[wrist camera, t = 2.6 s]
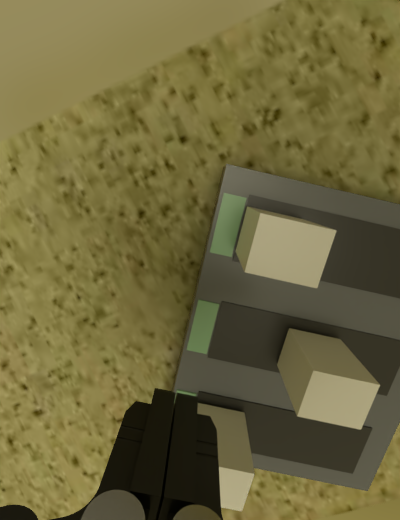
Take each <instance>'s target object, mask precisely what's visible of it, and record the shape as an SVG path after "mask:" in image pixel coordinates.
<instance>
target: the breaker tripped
mask: <svg viewBox="0 0 400 520" xmlns="http://www.w3.org/2000/svg"><path fill="white" fill-rule="evenodd" d="M277 366H278V369H279V371H280V374H281V376H282V379H283V382H284V384H285V387H286V389H287V392H288V394H289V397H290V400H291V402H292V405H293V407H294V410H295V412H296V415H297V416H298V417H302V418H307V419H312V420H317V421H321V422H326V423H331V424H336V425H340V426H345V427H350V428H355V429H359V430H361V429H362V426H363V424H364V422H365V419H366V417H367V415H368V412H369V410H370V408H371V405H372V403H373V401H374V398H375V396H376V394H377V391H378V389H379V387H380V384H379V383H378V382H377V381H376V380H375V378H374V377H373V376H372V375H371V374H370V373H369V372H368V370H367V369H366V368H365V367H364V366H363V365H362V363H361V362H360V361H359V360H358V359H357V358H356V357H355V355H354V354H353V353H352V352H351V351H350V350H349V349H348V347H347V346H346V345H345V344H344V343H343V342H342V340H341V339H337V338H332V337H328V336H323V335H319V334H314V333H310V332H305V331H300V330H296V329H291V328H289V330H288V333H287V336H286V339H285V342H284V345H283V348H282V351H281V354H280V357H279V360H278V364H277Z"/></svg>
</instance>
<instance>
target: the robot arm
mask: <svg viewBox="0 0 400 520" xmlns="http://www.w3.org/2000/svg"><path fill="white" fill-rule="evenodd" d="M174 400H175V402H174ZM197 410H198V397H196V396H191V395H187V394H182V393H177V394H176V398H175V392H172V391H167V390H162V389H157V388H155V391H154V395H153V399H152V403H151V404H147V403H143V402H138V401H136V402H135V403H134V404H133V405H132V406H131V407H130V408H129V409H128V410H127V411H126V412H125V415H124V418H123V421H122V424H121V427H120V429H119V432H118V435H117V438H116V441H115V444H114V446H113V449H112V452H111V455H110V458H109V461H108V464H107V466H106V469H105V472H104V475H103V478H102V481H101V484H100V486H99V489H98V491H97V493H96V494H95V496H94V497H93V499H92V500H91V501H90V502H89V503H88V504H87V505H86V506H85V507H84V508H82V509H81V510H79V511H77V512H76V513H74V514H71V515H69V516H66V517H62V518H56V519H51V520H223V518H222V514H221V500H220V481H219V461H218V447H217V445H218V442H217V429H216V427H215V425H214V423H213V421H212V419H211V417H210V416H207V415H202V414H197ZM0 520H38V518H37V516H36V515H35V513H34V512H33V511H32V510H31V509H29V508H27V507H25V506H21V505H7V506H3V507H0Z"/></svg>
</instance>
